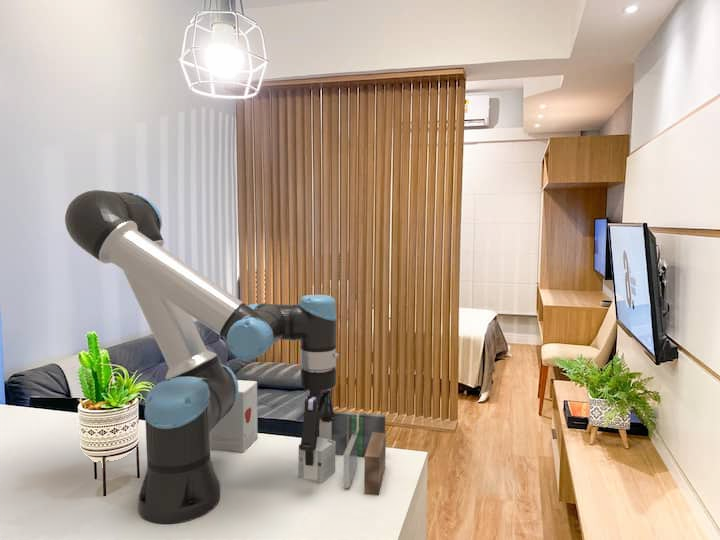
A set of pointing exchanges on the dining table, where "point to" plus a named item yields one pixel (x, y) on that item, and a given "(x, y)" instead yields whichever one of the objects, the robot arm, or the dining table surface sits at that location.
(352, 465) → the plate
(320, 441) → the skincare box
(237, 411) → the supplement box
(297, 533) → the dining table surface
